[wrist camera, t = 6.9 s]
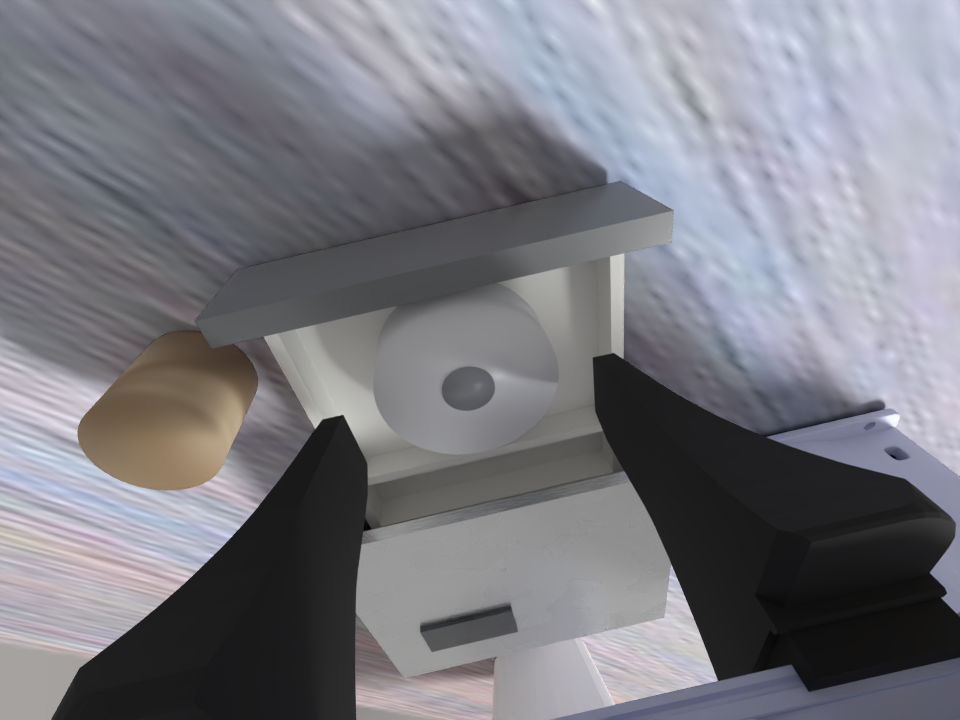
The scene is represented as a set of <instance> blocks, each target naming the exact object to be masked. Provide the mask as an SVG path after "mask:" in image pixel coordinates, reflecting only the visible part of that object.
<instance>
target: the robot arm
mask: <svg viewBox="0 0 960 720" xmlns="http://www.w3.org/2000/svg"><path fill="white" fill-rule="evenodd" d="M593 378H594V400H595V412H596V415H597V417H598V420H599V422H600V425H601V427H602V430H603V432H604V434H605V437H606V439H607V441H608V443H609V445H610V447H611V449H612V450H613V452H614V454H615V456H616V457H617V459H618V461H619V463H620V464H621V466H622V468H623V470H624V471H625V473H626V475H627V477H628V478H629V480H630V482H631V483H632V485H633V487H634V489H635V490H636V492H637V494H638V496H639V497H640V499H641V501H642V503H643V504H644V506H645V508H646V510H647V512H648V514H649V516H650V518H651V519H652V522H653V524H654V526H655V528H656V530H657V533H658V535H659V537H660V539H661V542H662V544H663V546H664V548H665V550H666V553H667V555H668V557H669V560H670V562H671V564H672V567H673V569H674V571H675V574H676V576H677V578H678V581H679V583H680V585H681V588H682V590H683V593H684V595H685V597H686V600H687V602H688V605H689V607H690V610H691V612H692V615H693V617H694V620H695V622H696V624H697V627H698V629H699V632H700V635H701V637H702V640H703V642H704V645H705V648H706V650H707V653H708V655H709V658H710V661H711V663H712V666H713V668H714V671H715V674H716V676H717V679H718V681H717V682H712V683H708V684H704V685H699V686H695V687H691V688H686V689H682V690H677V691H673V692H669V693H664V694H660V695H655V696H651V697H647V698H642V699H638V700H634V701H629V702H625V703H620V704H616V705H612V706H607V707H603V708H599V709H594V710H590V711H585V712H581V713H577V714H572V715H568V716H563V717H559V718H555V719H550V720H960V476H958V475H957V474H956V473H954V472H953V471H952V470H950V469H949V468H948V467H946V466H945V465H944V464H942V463H941V462H940V461H938V460H937V459H936V458H934V457H933V456H932V455H931V454H929V453H928V452H927V451H925V450H924V449H923V448H921V447H920V446H919V445H917V444H916V443H915V442H913V441H912V440H911V439H909V438H908V437H907V436H905V435H904V434H903V433H901V432H900V431H899V430H897V429H896V428H895V427H896V425H897V423H898V421H899V418H900V415H899V413H897V412H896V411H895V410H893V409H884V410H880V411H875V412H871V413H867V414H862V415H858V416H854V417H850V418H845V419H841V420H837V421H832V422H828V423H824V424H820V425H815V426H811V427H807V428H802V429H798V430H794V431H790V432H785V433H781V434H777V435H772V436H768V437H764V436H762V435H759V434H757V433H754V432H752V431H749V430H747V429H745V428H742V427H740V426H738V425H736V424H734V423H731V422H729V421H727V420H725V419H723V418H720V417H718V416H716V415H714V414H712V413H710V412H708V411H706V410H704V409H703V408H701V407H699V406H697V405H695V404H693V403H692V402H690V401H688V400H686V399H684V398H683V397H681V396H679V395H677V394H676V393H674V392H672V391H671V390H669V389H668V388H666V387H664V386H663V385H661V384H660V383H658V382H656V381H655V380H653V379H652V378H650V377H649V376H647V375H646V374H644V373H643V372H641V371H640V370H638V369H637V368H635V367H634V366H633V365H631V364H630V363H628V362H627V361H625V360H624V359H622V358H621V357H619V356H618V355H616V354H615V353H611V354H606V355H602V356H598V357H593ZM367 498H368V464H367V461H366V459H365V457H364V455H363V453H362V451H361V449H360V447H359V445H358V443H357V441H356V439H355V437H354V435H353V433H352V431H351V429H350V427H349V425H348V423H347V421H346V419H345V417H344V415H340V416H335V417H331V418H327V419H322V421H321V422H320V423H319V425H318V426H317V428H316V429H315V430H314V432H313V433H312V435H311V436H310V438H309V439H308V441H307V442H306V443H305V445H304V446H303V448H302V449H301V451H300V452H299V454H298V455H297V456H296V458H295V459H294V461H293V462H292V463H291V465H290V466H289V468H288V469H287V470H286V472H285V473H284V474H283V476H282V477H281V479H280V480H279V481H278V482H277V484H276V485H275V486H274V487H273V489H272V490H271V491H270V493H269V494H268V495H267V496H266V498H265V499H264V500H263V502H262V503H261V504H260V505H259V507H258V508H257V509H256V510H255V511H254V513H253V514H252V515H251V516H250V517H249V519H248V520H247V521H246V522H245V523H244V524H243V525H242V526H241V528H240V529H239V530H238V531H237V532H236V533H235V534H234V535H233V536H232V537H231V538H230V539H229V541H228V542H227V543H226V544H225V545H224V546H223V547H222V548H221V549H220V550H219V551H218V552H217V553H216V554H215V555H214V556H213V557H212V558H211V559H210V560H209V561H208V562H207V563H205V564H204V565H203V566H202V567H201V568H200V569H199V570H198V571H197V572H196V573H195V574H194V575H193V576H192V577H191V578H190V579H189V580H188V581H187V582H186V583H185V584H184V585H182V586H181V587H180V588H179V589H178V590H177V591H176V592H174V593H173V594H172V595H171V596H170V597H169V598H168V599H167V600H165V601H164V602H163V603H162V604H161V605H159V606H158V607H157V608H156V609H155V610H154V611H152V612H151V613H150V614H149V615H148V616H146V617H145V618H144V619H143V620H142V621H140V622H139V623H138V624H137V625H135V626H134V627H133V628H132V629H130V630H129V631H128V632H126V633H125V634H124V635H123V636H121V637H120V638H119V639H117V640H116V641H115V642H113V643H112V644H111V645H110V646H108V647H107V648H106V649H104V650H103V651H102V652H100V653H99V654H98V655H97V656H95V657H94V658H93V659H91V660H90V661H89V662H87V663H86V664H85V665H83V666H82V667H81V668H80V669H79V670H78V672H77V674H76V675H75V677H74V679H73V681H72V683H71V685H70V687H69V688H68V690H67V692H66V694H65V696H64V697H63V699H62V701H61V703H60V705H59V706H58V708H57V710H56V712H55V714H54V715H53V717H52V720H356V695H355V618H356V587H357V576H358V567H359V559H360V552H361V544H362V537H363V530H364V522H365V514H366V506H367Z"/></svg>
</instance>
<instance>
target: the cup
mask: <svg viewBox="0 0 960 720" xmlns="http://www.w3.org/2000/svg"><path fill="white" fill-rule="evenodd" d="M612 705H615V703H614V701H613V699H612V697H611V695H610V693H609V691H608V689H607V687H606V685H605V683H604V681H603V679H602V677H601V675H600V673H599V671H598V669H597V667H596V665H595V663H594V661H593V659H592V657H591V655H590V653H589V651H588V649H587V647H586V645H585V643H584V642H583V641H582V640H581V639H580V638H575V639H570V640H566V641H562V642H557V643H553V644H549V645H545V646H540V647H536V648H532V649H528V650H523V651H519V652H515V653H511V654H506V655H502V656H498V657H497V658H496V659H495V663H494V685H493V716H492V720H550V719H555V718H559V717H563V716H568V715H572V714H577V713H581V712H585V711H590V710H594V709H599V708H603V707H607V706H612Z"/></svg>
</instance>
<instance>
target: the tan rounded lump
mask: <svg viewBox="0 0 960 720" xmlns="http://www.w3.org/2000/svg"><path fill="white" fill-rule="evenodd" d="M257 387H258V378H257V373H256V370H255V368H254V366H253V364H252V363H251V361H250V360H249V358H248V357H247V356H246V355H245V354H244V353H243V352H242V351H241V350H240V349H239V348H237V347H236V346H234V345H233V344H230V345H226V346H221V347H217V348H213V349H212V348H211V346H210V345H209V343H208V342H207V340H206V339H205V337H204V336H203V334H202V333H201V332H197V331H177V332H171V333H168V334H165V335H163V336H160V337H158V338H157V339H155V340H154V341H153V342H152V343H151V344H150V345H149V346H148V347H147V348H146V349H145V350H144V351H143V352H142V353H141V354H140V355H139V357H138V358H137V359H136V360H135V361H134V362H133V363H132V364H131V365H130V366H129V367H128V369H127V370H126V371H125V372H124V373H123V374H122V375H121V376H120V377H119V378H118V379H117V381H116V382H115V383H114V384H113V385H112V386H111V387H110V388H109V389H108V390H107V391H106V393H105V394H104V395H103V396H102V397H101V398H100V399H99V400H98V401H97V402H96V403H95V404H94V406H93V407H92V408H91V409H90V410H89V411H88V412H87V413H86V414H85V415H84V417H83V418H82V420H81V421H80V424H79V427H78V440H79V444H80V446H81V448H82V450H83V452H84V453H85V455H86V456H87V457H88V458H89V459H90V460H91V462H92V463H94V464H95V465H96V466H97V467H98V468H100V469H101V470H102V471H104V472H105V473H107V474H109V475H111V476H112V477H114V478H116V479H119V480H121V481H123V482H126V483H129V484H132V485H135V486H139V487H143V488H148V489H155V490H181V489H187V488H192V487H195V486H198V485H201V484H203V483H205V482H207V481H209V480H210V479H211V478H213V477H214V476H215V475H216V474H217V473H218V472H219V470H220V469H221V467H222V465H223V463H224V461H225V459H226V456H227V454H228V452H229V450H230V448H231V446H232V443H233V441H234V439H235V437H236V435H237V433H238V430H239V428H240V426H241V424H242V422H243V420H244V417H245V415H246V413H247V411H248V409H249V407H250V405H251V402H252V400H253V398H254V396H255V394H256V391H257Z"/></svg>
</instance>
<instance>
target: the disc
mask: <svg viewBox="0 0 960 720" xmlns="http://www.w3.org/2000/svg"><path fill="white" fill-rule="evenodd" d="M558 379H559V367H558V361H557V357H556V354H555V352H554V349H553V347H552V345H551V343H550V341H549V339H548V337H547V335H546V333H545V331H544V329H543V327H542V325H541V323H540V321H539V319H538V317H537V315H536V314H535V312H534V310H533V309H532V308H531V306H530V305H529V304H528V303H527V302H526V301H525V300H524V299H523V298H522V297H521V296H520V295H518V294H517V293H515V292H514V291H512V290H511V289H509V288H507V287H505V286H503V285H500V284H498V283H494V284H489V285H485V286H481V287H476V288H472V289H468V290H463V291H459V292H455V293H450V294H446V295H442V296H437V297H433V298H429V299H424V300H420V301H416V302H411V303H407V304H403V305H398V306H397V307H396V308H395V309H394V310H393V311H392V313H391V314H390V316H389V317H388V318H387V320H386V322H385V324H384V326H383V328H382V330H381V333H380V336H379V340H378V347H377V355H376V363H375V371H374V380H373V392H374V398H375V402H376V405H377V408H378V410H379V412H380V414H381V416H382V418H383V419H384V421H385V422H386V423H387V424H388V426H389V427H390V428H391V429H392V430H393V431H394V432H395V433H396V434H397V435H399V436H400V437H402V438H403V439H404V440H406V441H408V442H410V443H411V444H413V445H415V446H418V447H420V448H423V449H426V450H429V451H433V452H437V453H443V454H454V455H459V454H474V453H480V452H485V451H489V450H492V449H496V448H498V447H501V446H503V445H506V444H508V443H510V442H512V441H514V440H516V439H517V438H519V437H520V436H522V435H523V434H525V433H526V432H528V431H529V430H530V429H531V428H532V427H534V426H535V425H536V424H537V423H538V421H539V420H540V419H541V418H542V417H543V416H544V414H545V413H546V412H547V410H548V408H549V407H550V405H551V403H552V401H553V399H554V396H555V394H556V390H557V386H558Z"/></svg>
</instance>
